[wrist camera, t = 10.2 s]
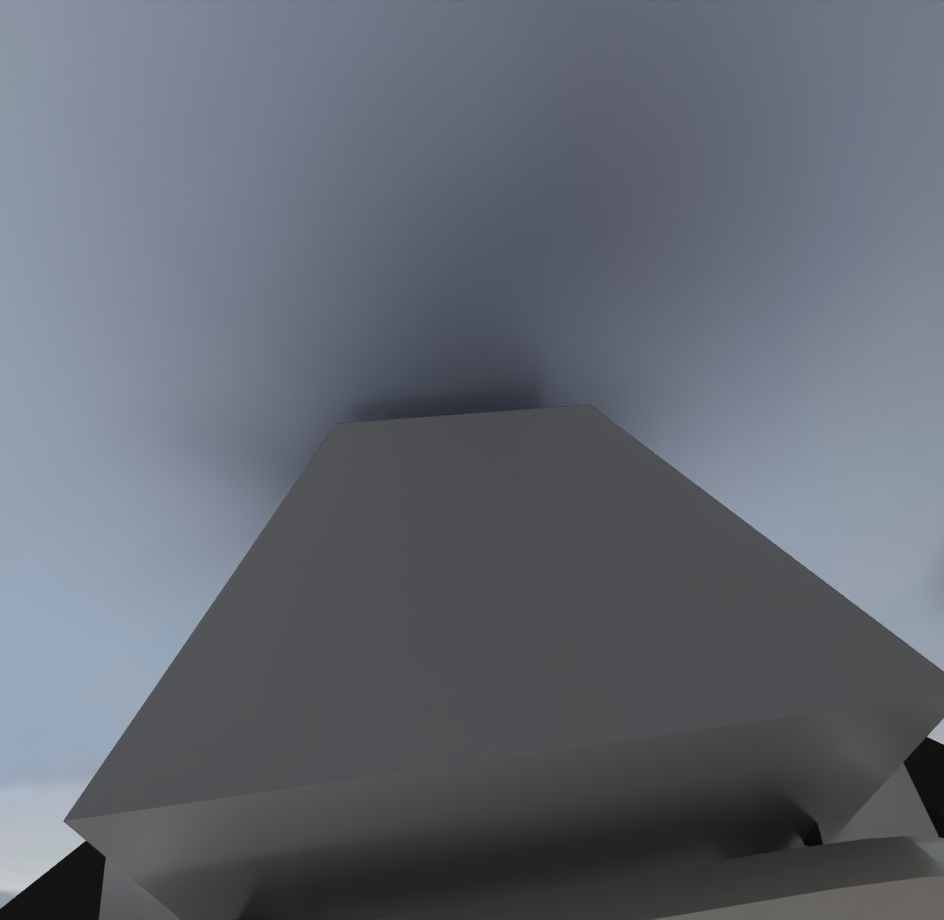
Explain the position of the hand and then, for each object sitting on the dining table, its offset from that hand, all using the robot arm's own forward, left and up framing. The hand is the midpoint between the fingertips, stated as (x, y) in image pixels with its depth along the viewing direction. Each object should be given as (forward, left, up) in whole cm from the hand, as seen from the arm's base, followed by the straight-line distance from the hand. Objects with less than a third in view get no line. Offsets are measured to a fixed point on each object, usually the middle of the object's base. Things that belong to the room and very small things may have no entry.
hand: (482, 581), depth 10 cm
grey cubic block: (0, 0, -3) cm, 3 cm away
